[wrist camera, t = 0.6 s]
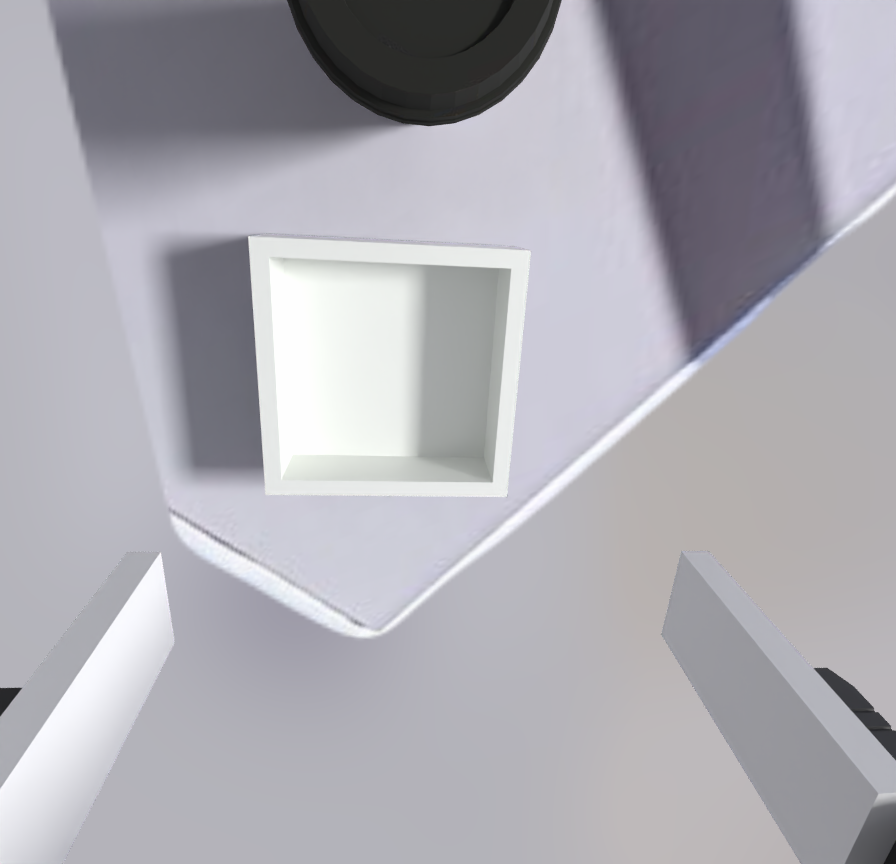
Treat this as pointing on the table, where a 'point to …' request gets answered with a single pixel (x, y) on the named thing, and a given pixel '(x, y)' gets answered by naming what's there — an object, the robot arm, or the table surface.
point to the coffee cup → (426, 52)
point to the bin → (387, 364)
